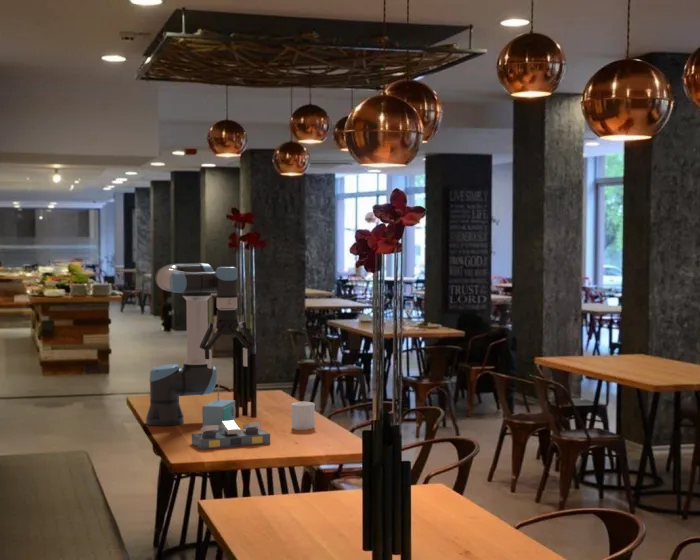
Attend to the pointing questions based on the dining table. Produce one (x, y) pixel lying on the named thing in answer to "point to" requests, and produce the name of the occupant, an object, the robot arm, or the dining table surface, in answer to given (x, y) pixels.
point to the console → (230, 438)
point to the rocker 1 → (209, 428)
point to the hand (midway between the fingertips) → (227, 367)
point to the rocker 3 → (251, 425)
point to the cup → (303, 415)
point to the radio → (218, 412)
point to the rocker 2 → (230, 427)
